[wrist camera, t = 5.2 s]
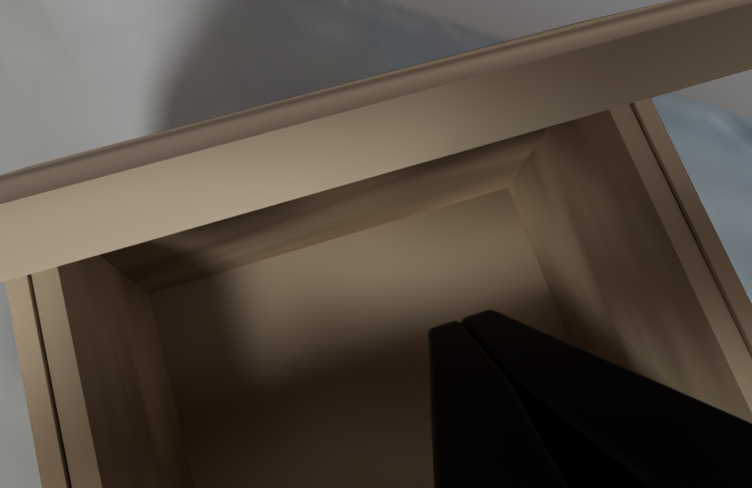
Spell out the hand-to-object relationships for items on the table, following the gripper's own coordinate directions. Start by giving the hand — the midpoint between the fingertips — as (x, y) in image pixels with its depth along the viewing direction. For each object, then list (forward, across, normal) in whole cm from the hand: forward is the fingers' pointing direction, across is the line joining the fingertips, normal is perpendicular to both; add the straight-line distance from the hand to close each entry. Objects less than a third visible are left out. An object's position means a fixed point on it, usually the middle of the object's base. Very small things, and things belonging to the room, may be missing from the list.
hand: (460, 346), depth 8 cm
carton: (+9, 0, +9) cm, 13 cm away
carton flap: (+2, 0, -2) cm, 3 cm away
